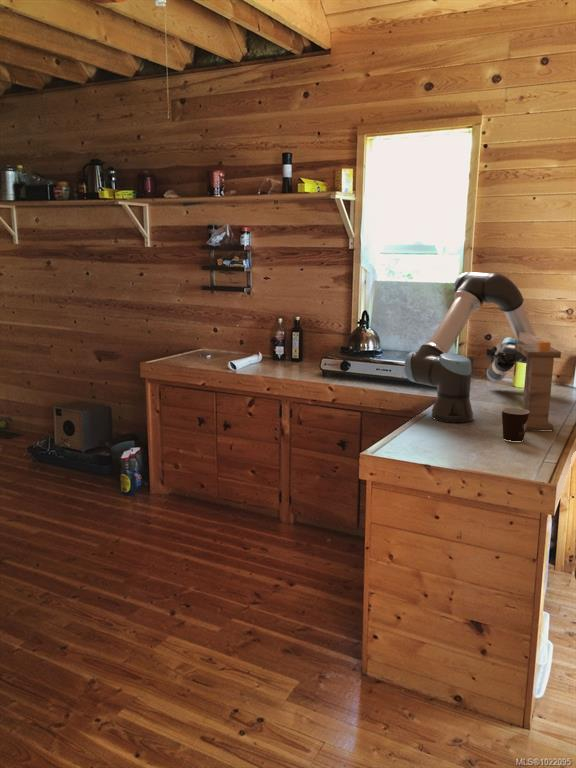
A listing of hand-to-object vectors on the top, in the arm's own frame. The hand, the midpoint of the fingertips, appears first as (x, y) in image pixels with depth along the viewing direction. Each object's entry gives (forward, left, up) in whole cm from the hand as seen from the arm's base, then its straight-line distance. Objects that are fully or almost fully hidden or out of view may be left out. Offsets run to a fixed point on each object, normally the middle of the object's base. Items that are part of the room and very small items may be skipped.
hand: (517, 345), depth 254 cm
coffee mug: (-35, -26, -25) cm, 50 cm away
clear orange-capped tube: (-13, -15, +3) cm, 20 cm away
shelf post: (-16, -19, -25) cm, 35 cm away
